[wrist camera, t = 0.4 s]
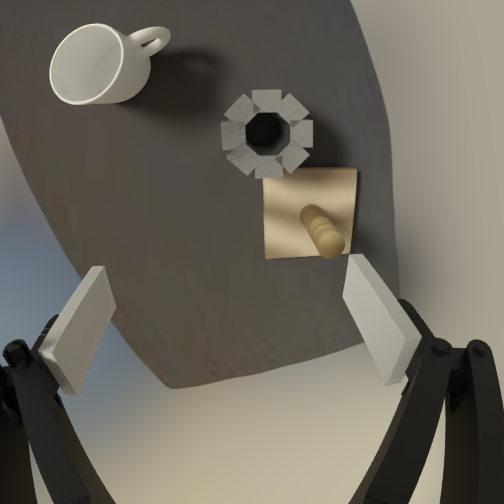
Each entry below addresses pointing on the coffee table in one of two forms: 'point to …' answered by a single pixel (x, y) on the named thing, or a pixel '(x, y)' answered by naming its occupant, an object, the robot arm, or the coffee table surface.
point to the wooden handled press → (309, 212)
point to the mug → (104, 64)
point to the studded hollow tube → (282, 149)
